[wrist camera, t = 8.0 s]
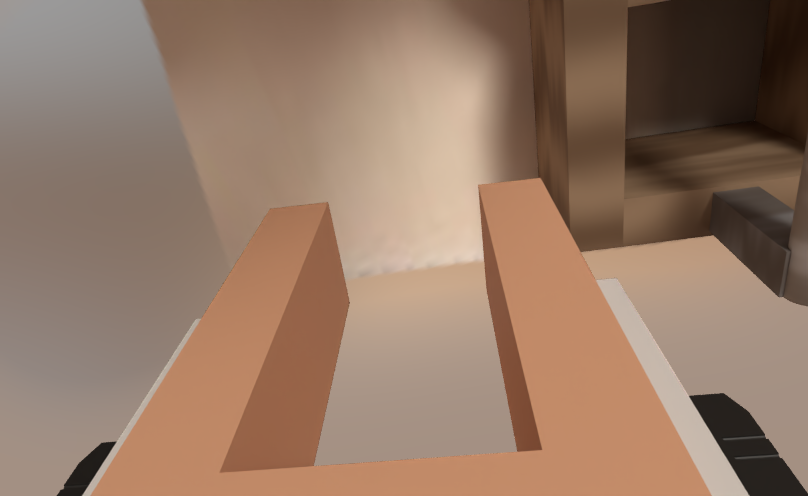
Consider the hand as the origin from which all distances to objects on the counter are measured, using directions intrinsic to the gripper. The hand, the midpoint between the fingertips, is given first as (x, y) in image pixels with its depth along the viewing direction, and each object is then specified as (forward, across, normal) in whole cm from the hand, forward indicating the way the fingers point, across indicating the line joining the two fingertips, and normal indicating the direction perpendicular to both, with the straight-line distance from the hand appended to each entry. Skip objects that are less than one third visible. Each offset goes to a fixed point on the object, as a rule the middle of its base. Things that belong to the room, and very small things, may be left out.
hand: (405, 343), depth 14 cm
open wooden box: (+28, +17, +1) cm, 32 cm away
